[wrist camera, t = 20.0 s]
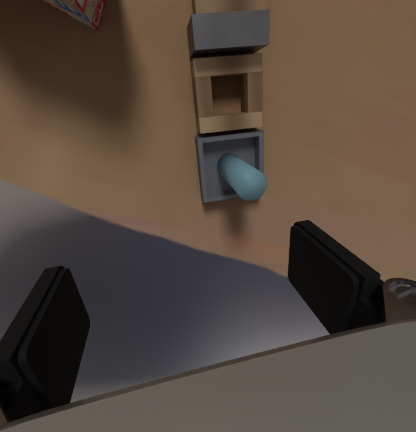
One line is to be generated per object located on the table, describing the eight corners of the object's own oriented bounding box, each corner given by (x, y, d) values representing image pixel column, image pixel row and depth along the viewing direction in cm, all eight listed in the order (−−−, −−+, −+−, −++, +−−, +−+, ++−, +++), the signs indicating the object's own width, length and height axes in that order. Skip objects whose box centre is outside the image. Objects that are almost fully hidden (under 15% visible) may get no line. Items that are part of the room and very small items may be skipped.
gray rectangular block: (189, 57, 31) (194, 49, 26) (186, 27, 29) (191, 13, 25) (253, 52, 32) (269, 44, 27) (253, 23, 30) (269, 9, 26)
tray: (201, 196, 38) (203, 202, 36) (194, 136, 34) (197, 138, 32) (257, 188, 39) (263, 194, 37) (257, 129, 35) (263, 130, 33)
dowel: (217, 178, 37) (237, 202, 28) (216, 154, 35) (235, 172, 26) (240, 175, 37) (266, 198, 28) (239, 151, 36) (267, 168, 27)
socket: (197, 131, 34) (200, 133, 31) (190, 62, 31) (193, 58, 28) (254, 124, 35) (262, 126, 32) (253, 57, 32) (262, 53, 29)
